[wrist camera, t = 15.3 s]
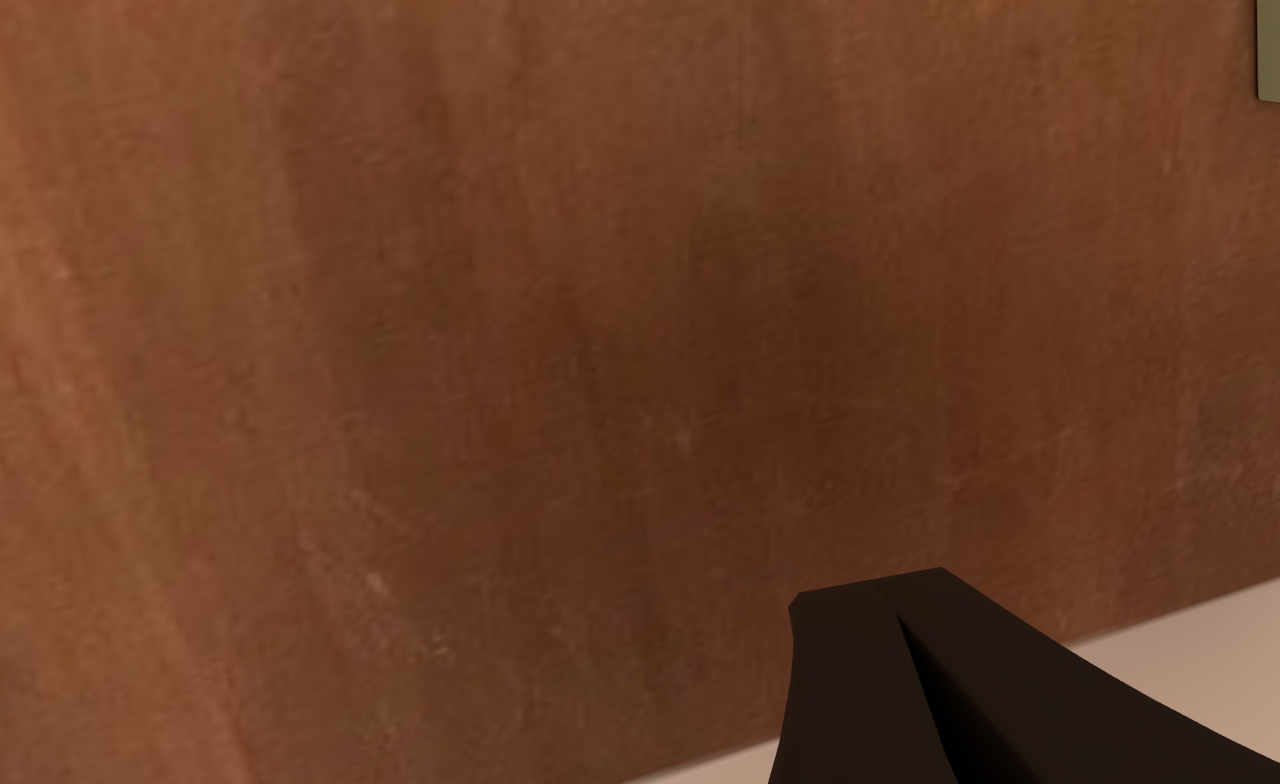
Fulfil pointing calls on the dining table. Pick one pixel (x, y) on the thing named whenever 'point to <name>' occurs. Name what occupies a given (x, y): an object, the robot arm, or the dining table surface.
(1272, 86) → the button box
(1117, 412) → the dining table surface
